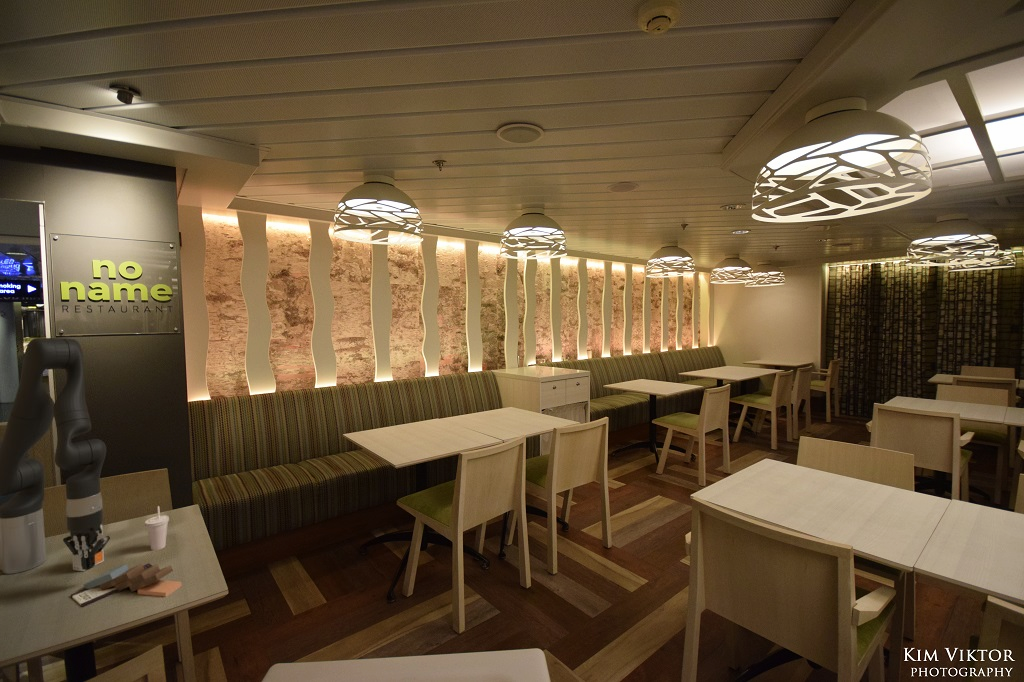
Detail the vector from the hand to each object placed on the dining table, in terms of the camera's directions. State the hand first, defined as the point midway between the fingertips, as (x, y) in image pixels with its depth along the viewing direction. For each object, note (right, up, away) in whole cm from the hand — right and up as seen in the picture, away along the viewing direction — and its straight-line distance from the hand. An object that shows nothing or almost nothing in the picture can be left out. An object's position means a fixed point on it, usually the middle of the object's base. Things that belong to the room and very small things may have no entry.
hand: (88, 568), depth 129 cm
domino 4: (+15, -4, -1) cm, 16 cm away
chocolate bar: (+8, -6, +1) cm, 10 cm away
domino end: (+18, -5, -1) cm, 19 cm away
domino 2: (+6, -4, 0) cm, 7 cm away
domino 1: (+1, -4, 0) cm, 4 cm away
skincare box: (-10, -5, +10) cm, 15 cm away
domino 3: (+11, -4, 0) cm, 12 cm away
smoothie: (+4, -4, +21) cm, 22 cm away
